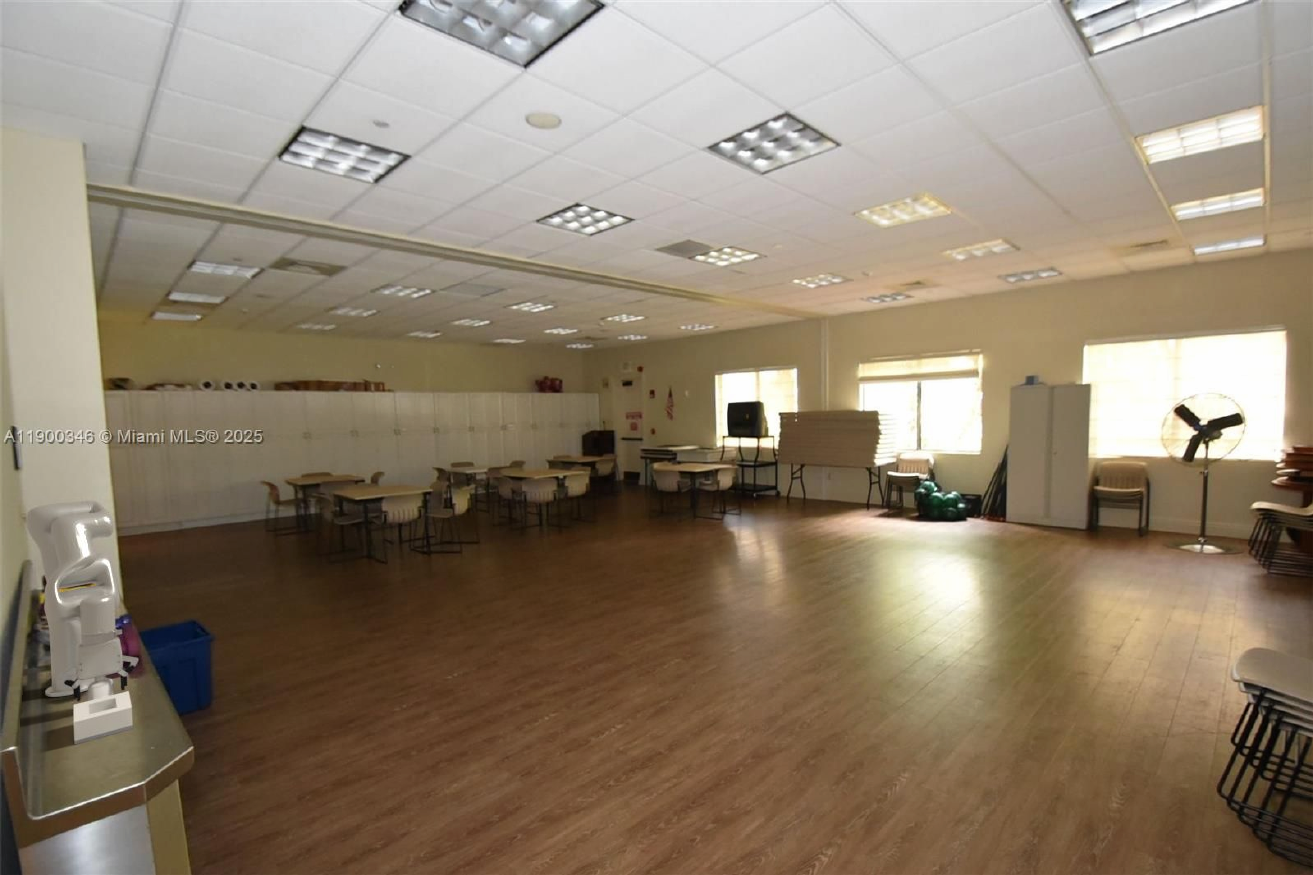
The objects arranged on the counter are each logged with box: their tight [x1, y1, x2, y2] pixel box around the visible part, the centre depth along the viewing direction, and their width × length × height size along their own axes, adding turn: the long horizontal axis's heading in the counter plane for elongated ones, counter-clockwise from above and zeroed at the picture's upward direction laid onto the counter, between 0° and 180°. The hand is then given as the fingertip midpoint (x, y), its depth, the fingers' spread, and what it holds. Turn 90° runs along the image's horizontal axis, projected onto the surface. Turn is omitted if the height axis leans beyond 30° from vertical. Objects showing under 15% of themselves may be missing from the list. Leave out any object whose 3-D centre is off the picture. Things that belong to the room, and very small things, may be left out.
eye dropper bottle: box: [87, 675, 115, 701], centre depth 178 cm, size 4×6×12 cm
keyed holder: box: [73, 690, 134, 745], centre depth 167 cm, size 14×12×6 cm
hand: (101, 694), depth 178 cm, fingers open, 9 cm apart
